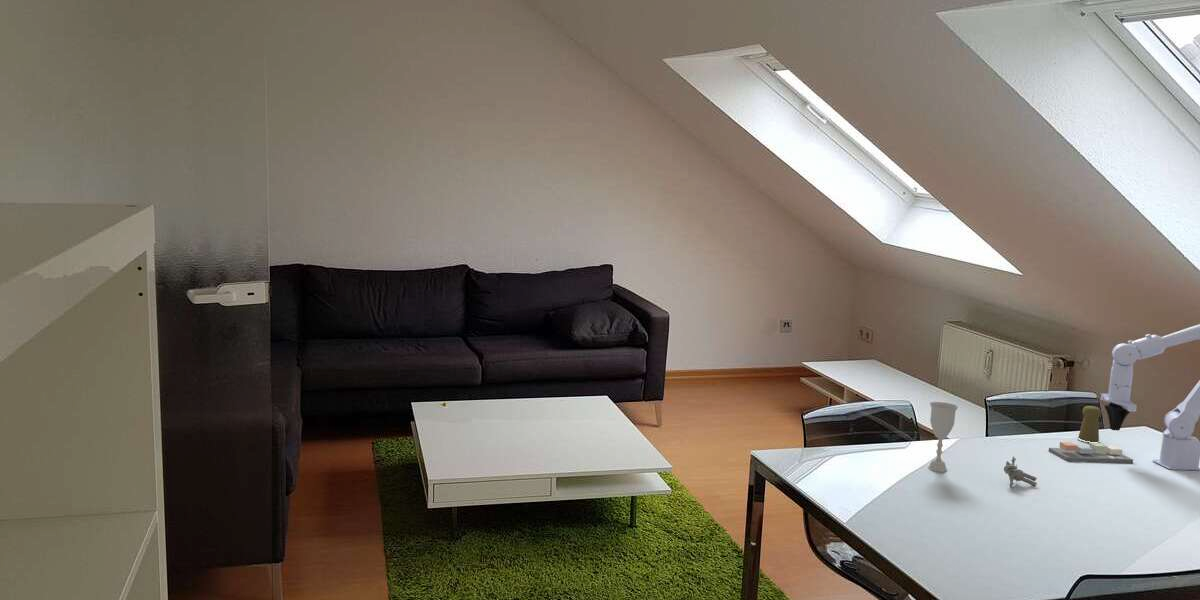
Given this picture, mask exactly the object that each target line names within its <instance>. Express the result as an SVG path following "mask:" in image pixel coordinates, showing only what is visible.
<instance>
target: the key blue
mask: <svg viewBox="0 0 1200 600" xmlns="http://www.w3.org/2000/svg"><path fill="white" fill-rule="evenodd" d="M1076 445H1077V451H1076V452H1078V453H1080V454H1092V448H1090V447H1089V445H1085V444H1082V445H1081V444H1076Z"/></svg>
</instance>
